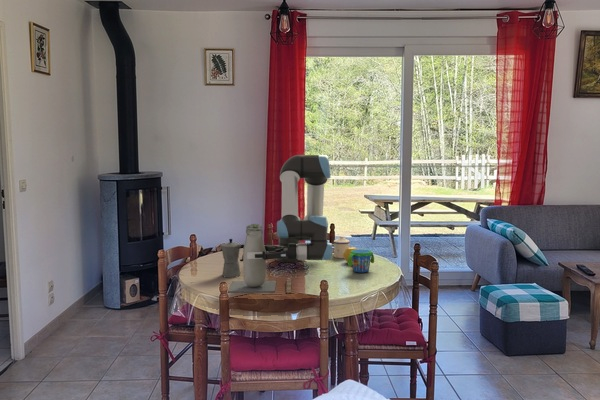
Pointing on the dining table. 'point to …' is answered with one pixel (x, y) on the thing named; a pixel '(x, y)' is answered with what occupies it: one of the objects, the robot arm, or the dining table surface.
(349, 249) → the dumbbell
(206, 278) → the dining table surface
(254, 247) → the grey green rounded cylinder
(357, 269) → the snack cup
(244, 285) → the mat
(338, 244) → the teacup with lid
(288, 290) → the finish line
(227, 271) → the coffeepot
